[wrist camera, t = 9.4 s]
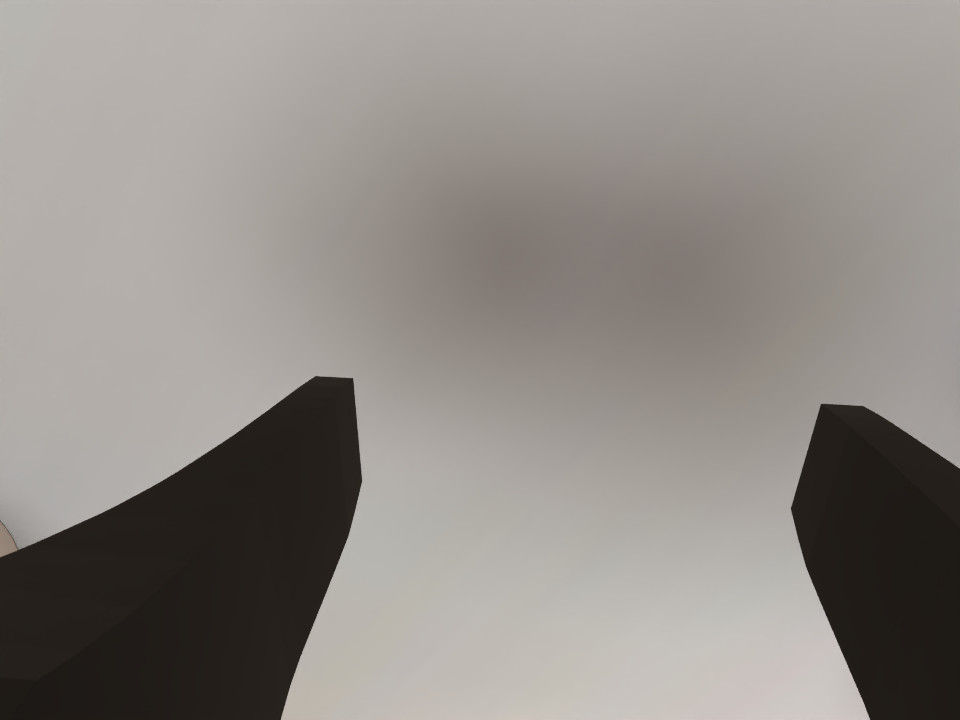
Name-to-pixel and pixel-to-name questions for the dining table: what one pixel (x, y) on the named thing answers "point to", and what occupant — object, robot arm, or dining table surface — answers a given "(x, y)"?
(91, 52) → the dining table surface
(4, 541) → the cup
